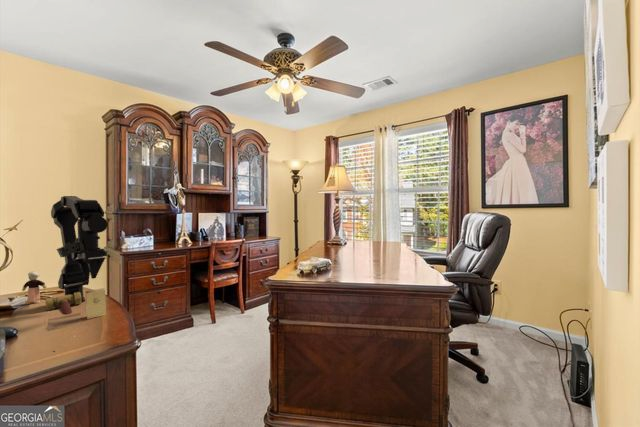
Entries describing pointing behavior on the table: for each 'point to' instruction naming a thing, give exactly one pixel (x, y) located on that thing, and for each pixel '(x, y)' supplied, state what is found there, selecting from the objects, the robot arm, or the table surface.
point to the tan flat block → (64, 321)
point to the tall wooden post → (95, 303)
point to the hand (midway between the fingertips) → (89, 277)
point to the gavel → (63, 302)
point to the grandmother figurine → (33, 288)
